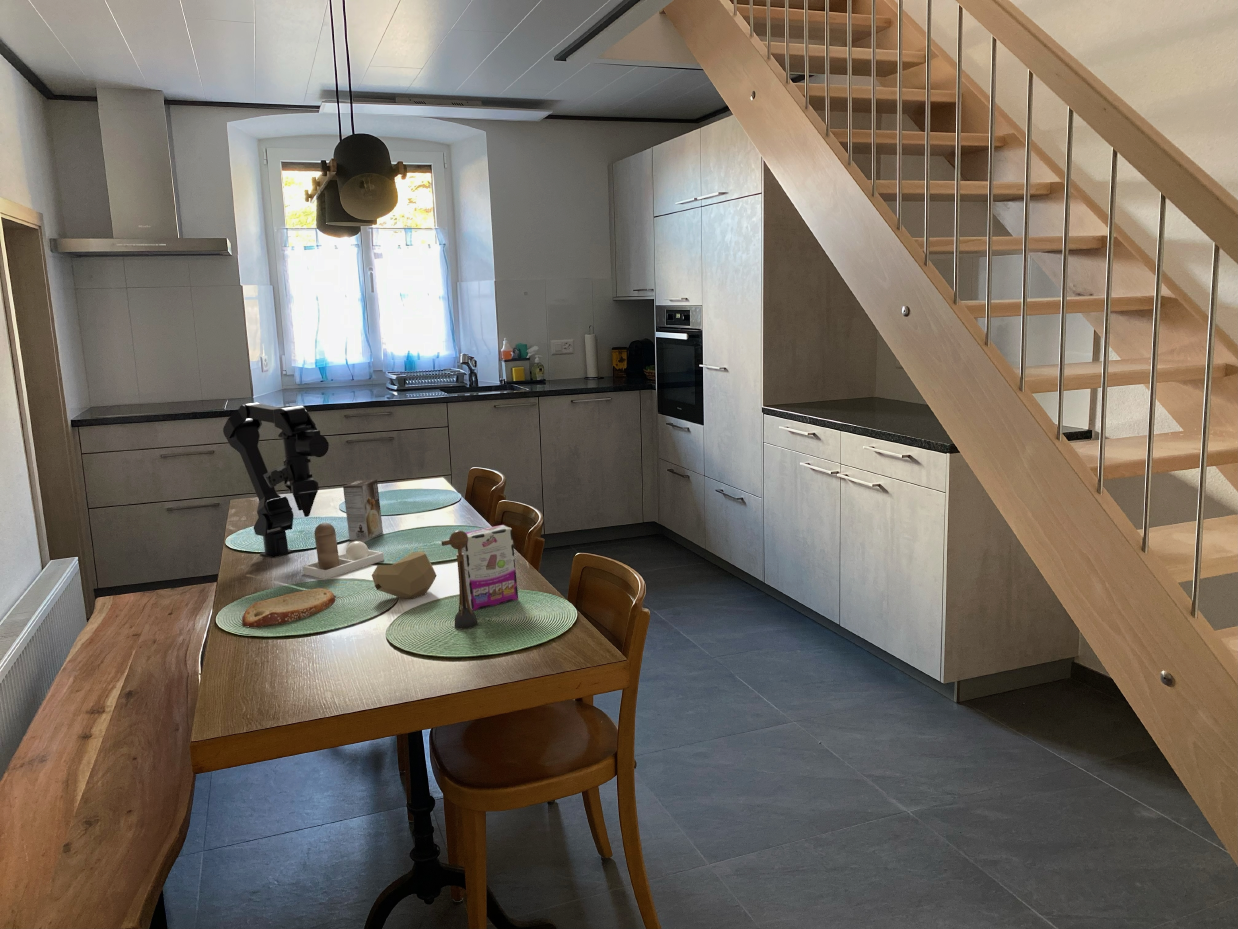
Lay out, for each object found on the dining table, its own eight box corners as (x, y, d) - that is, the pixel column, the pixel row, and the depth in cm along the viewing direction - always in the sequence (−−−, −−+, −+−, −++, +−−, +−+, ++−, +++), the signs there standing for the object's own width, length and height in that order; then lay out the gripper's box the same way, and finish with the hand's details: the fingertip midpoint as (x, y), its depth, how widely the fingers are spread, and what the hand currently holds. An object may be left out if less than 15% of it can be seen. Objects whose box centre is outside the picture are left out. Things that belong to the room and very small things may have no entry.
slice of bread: (338, 595, 210) (336, 580, 209) (326, 622, 192) (324, 605, 191) (258, 603, 207) (256, 588, 206) (237, 631, 189) (235, 614, 189)
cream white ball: (342, 563, 233) (340, 542, 232) (360, 558, 237) (358, 537, 236) (356, 566, 229) (353, 545, 228) (373, 560, 234) (371, 540, 233)
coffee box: (363, 532, 267) (357, 479, 264) (383, 532, 266) (378, 478, 263) (348, 540, 258) (342, 485, 255) (369, 540, 257) (363, 485, 254)
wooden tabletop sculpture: (453, 631, 181) (444, 535, 178) (446, 625, 185) (437, 531, 182) (481, 625, 184) (473, 530, 180) (473, 619, 188) (465, 526, 184)
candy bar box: (509, 594, 203) (503, 523, 200) (519, 600, 199) (513, 527, 196) (462, 605, 197) (456, 532, 194) (471, 611, 193) (465, 537, 190)
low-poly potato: (449, 588, 210) (417, 561, 215) (448, 557, 203) (416, 529, 208) (396, 623, 201) (365, 593, 206) (394, 591, 194) (361, 561, 199)
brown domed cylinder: (315, 572, 226) (308, 524, 224) (332, 567, 230) (325, 519, 228) (327, 575, 223) (321, 526, 221) (344, 569, 227) (338, 521, 225)
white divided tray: (303, 575, 226) (302, 566, 225) (361, 557, 240) (360, 548, 239) (326, 581, 220) (324, 571, 220) (384, 561, 234) (383, 552, 234)
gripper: (259, 454, 238) (266, 511, 241) (268, 463, 222) (276, 525, 225) (302, 449, 243) (309, 505, 246) (315, 458, 227) (322, 518, 230)
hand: (303, 513), depth 236 cm, fingers open, 9 cm apart
